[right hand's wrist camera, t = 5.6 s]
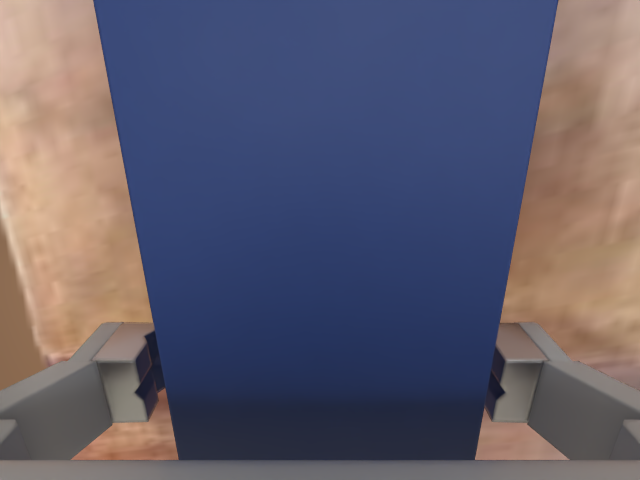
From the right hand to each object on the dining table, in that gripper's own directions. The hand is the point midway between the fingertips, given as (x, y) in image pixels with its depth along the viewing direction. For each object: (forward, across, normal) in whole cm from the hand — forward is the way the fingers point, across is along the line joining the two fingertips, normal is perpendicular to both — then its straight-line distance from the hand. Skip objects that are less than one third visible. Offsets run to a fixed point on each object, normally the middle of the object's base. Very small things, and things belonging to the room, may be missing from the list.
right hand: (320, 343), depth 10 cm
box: (+7, 0, +10) cm, 12 cm away
